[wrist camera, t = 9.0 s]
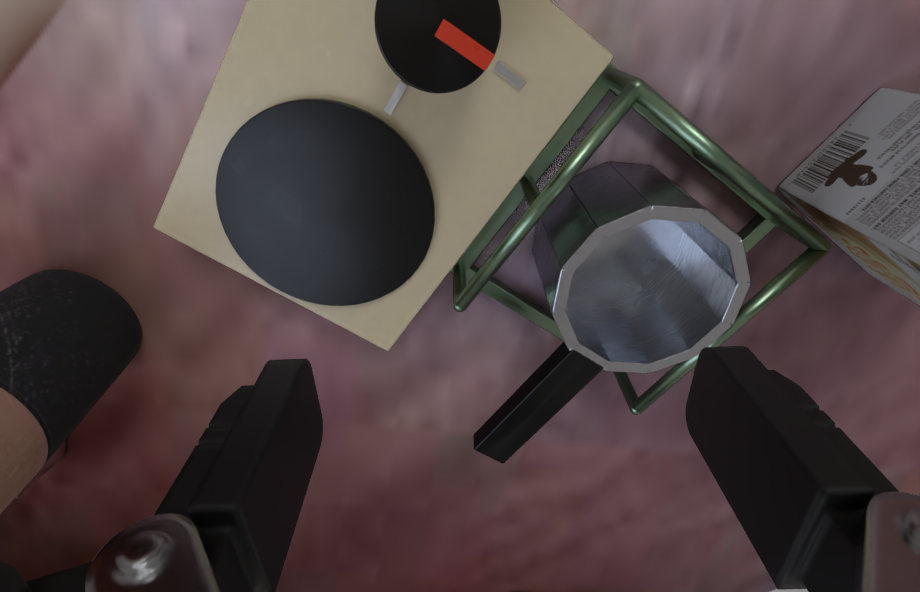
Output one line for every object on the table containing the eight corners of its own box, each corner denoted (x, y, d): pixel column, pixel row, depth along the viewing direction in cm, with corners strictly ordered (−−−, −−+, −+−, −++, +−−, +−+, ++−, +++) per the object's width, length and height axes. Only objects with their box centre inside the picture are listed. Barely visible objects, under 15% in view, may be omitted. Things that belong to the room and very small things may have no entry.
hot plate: (358, -198, 19) (341, -233, 16) (613, 28, 22) (635, 31, 20) (181, 206, 26) (150, 229, 24) (393, 322, 30) (387, 353, 28)
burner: (477, 184, 23) (477, 187, 23) (368, 333, 27) (367, 337, 27) (274, 45, 20) (271, 46, 20) (186, 236, 24) (183, 240, 24)
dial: (371, 39, 20) (350, 49, 16) (422, -65, 18) (413, -86, 14) (457, 96, 21) (457, 119, 17) (512, 3, 19) (528, 2, 15)
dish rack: (779, 210, 27) (839, 248, 23) (614, 366, 32) (638, 420, 28) (604, 61, 23) (638, 73, 19) (449, 265, 28) (448, 310, 24)
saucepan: (720, 219, 27) (790, 276, 22) (532, 405, 34) (548, 486, 28) (606, 129, 25) (653, 166, 19) (428, 349, 31) (422, 425, 26)
